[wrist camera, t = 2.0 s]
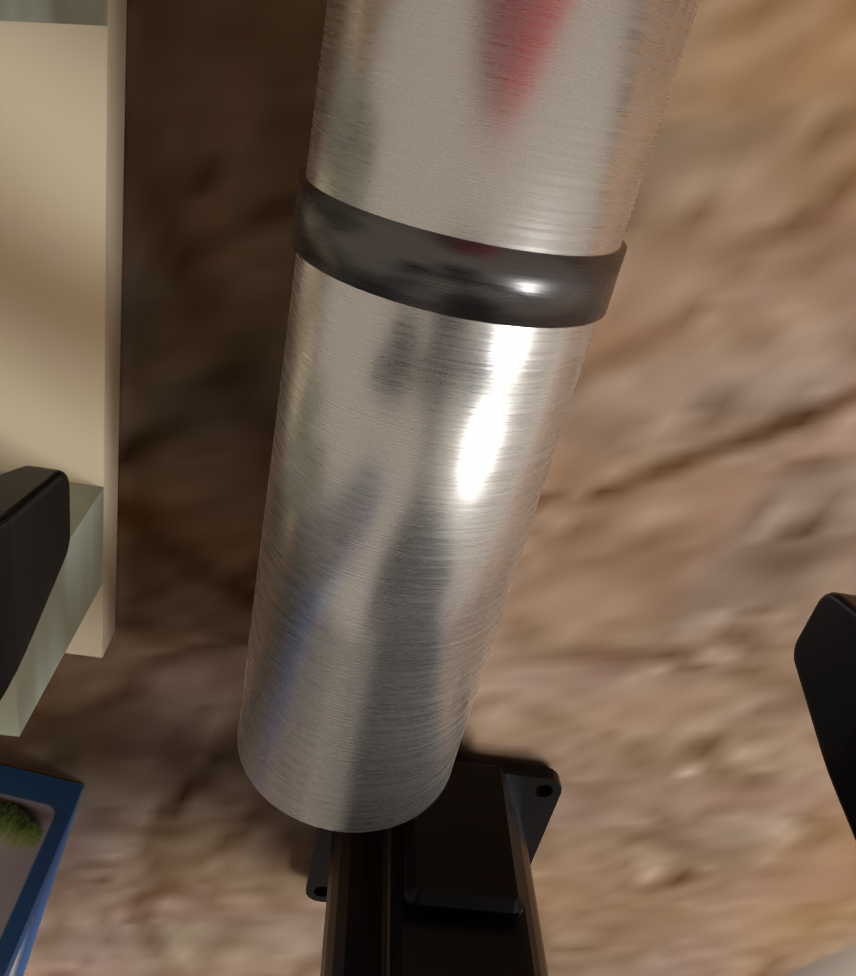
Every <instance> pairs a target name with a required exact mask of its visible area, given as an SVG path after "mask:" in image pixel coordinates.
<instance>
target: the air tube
mask: <svg viewBox="0 0 856 976" xmlns="http://www.w3.org/2000/svg"><path fill="white" fill-rule="evenodd" d="M699 2H700V0H327V7H326V16H325V24H324V32H323V40H322V48H321V56H320V64H319V73H318V81H317V89H316V97H315V105H314V113H313V121H312V129H311V138H310V146H309V154H308V162H307V167H305V168H303V169H302V170H301V171H300V172H299V181H298V189H297V197H296V206H295V214H294V223H293V231H292V242H291V244H292V246H293V248H294V250H295V251H296V260H295V268H294V276H293V284H292V292H291V300H290V309H289V317H288V325H287V333H286V341H285V349H284V357H283V366H282V374H281V382H280V390H279V398H278V406H277V414H276V422H275V431H274V439H273V447H272V455H271V463H270V471H269V479H268V488H267V496H266V504H265V512H264V520H263V528H262V536H261V545H260V553H259V561H258V569H257V577H256V585H255V593H254V602H253V610H252V618H251V626H250V634H249V642H248V650H247V659H246V667H245V675H244V683H243V691H242V699H241V707H240V715H239V724H238V734H237V744H238V752H239V756H240V760H241V763H242V766H243V768H244V770H245V772H246V774H247V776H248V778H249V779H250V781H251V782H252V784H253V785H254V787H255V788H256V789H257V790H258V791H259V792H260V794H261V795H262V796H263V797H264V798H265V799H267V800H268V801H269V802H270V803H271V804H272V805H273V806H275V807H276V808H278V809H279V810H281V811H282V812H284V813H285V814H287V815H289V816H291V817H293V818H295V819H297V820H299V821H301V822H303V823H306V824H309V825H312V826H314V827H318V828H322V829H326V830H330V831H338V832H351V833H363V832H372V831H379V830H383V829H387V828H392V827H394V826H397V825H400V824H402V823H405V822H407V821H409V820H411V819H413V818H414V817H416V816H418V815H419V814H421V813H422V812H423V811H425V810H426V809H427V808H428V807H429V806H430V805H431V804H432V803H433V802H434V801H435V800H436V799H437V798H438V797H439V795H440V794H441V792H442V791H443V790H444V788H445V786H446V784H447V782H448V780H449V777H450V774H451V771H452V768H453V764H454V761H455V758H456V755H457V752H458V749H459V746H460V743H461V740H462V737H463V733H464V730H465V727H466V724H467V721H468V718H469V715H470V712H471V709H472V706H473V702H474V699H475V696H476V693H477V690H478V687H479V684H480V681H481V678H482V674H483V671H484V668H485V665H486V662H487V659H488V656H489V653H490V650H491V647H492V643H493V640H494V637H495V634H496V631H497V628H498V625H499V622H500V619H501V616H502V612H503V609H504V606H505V603H506V600H507V597H508V594H509V591H510V588H511V585H512V581H513V578H514V575H515V572H516V569H517V566H518V563H519V560H520V557H521V554H522V550H523V547H524V544H525V541H526V538H527V535H528V532H529V529H530V526H531V523H532V519H533V516H534V513H535V510H536V507H537V504H538V501H539V498H540V495H541V492H542V488H543V485H544V482H545V479H546V476H547V473H548V470H549V467H550V464H551V461H552V457H553V454H554V451H555V448H556V445H557V442H558V439H559V436H560V433H561V430H562V426H563V423H564V420H565V417H566V414H567V411H568V408H569V405H570V402H571V399H572V395H573V392H574V389H575V386H576V383H577V380H578V377H579V374H580V371H581V368H582V364H583V361H584V358H585V355H586V352H587V349H588V346H589V343H590V340H591V337H592V333H593V330H594V327H595V324H596V321H598V320H600V319H601V318H602V317H603V316H604V315H605V314H606V311H607V308H608V305H609V302H610V299H611V296H612V293H613V289H614V286H615V283H616V280H617V277H618V274H619V271H620V268H621V265H622V262H623V259H624V256H625V253H626V249H627V246H626V244H625V242H624V241H623V237H624V234H625V231H626V228H627V225H628V222H629V219H630V216H631V212H632V209H633V206H634V203H635V200H636V197H637V194H638V191H639V188H640V185H641V181H642V178H643V175H644V172H645V169H646V166H647V163H648V160H649V157H650V154H651V150H652V147H653V144H654V141H655V138H656V135H657V132H658V129H659V126H660V123H661V119H662V116H663V113H664V110H665V107H666V104H667V101H668V98H669V95H670V92H671V88H672V85H673V82H674V79H675V76H676V73H677V70H678V67H679V64H680V61H681V57H682V54H683V51H684V48H685V45H686V42H687V39H688V36H689V33H690V30H691V26H692V23H693V20H694V17H695V14H696V11H697V8H698V5H699Z"/></svg>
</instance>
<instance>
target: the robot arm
mask: <svg viewBox="0 0 856 976" xmlns="http://www.w3.org/2000/svg"><path fill="white" fill-rule="evenodd" d="M69 543H70V486H69V480H68V477H67V475H66V474H65V473H64V472H63V471H60V470H56V469H49V468H43V467H37V466H23V467H20V468H17V469H14V470H11V471H9V472H6V473H3V474H0V701H1V699H2V697H3V696H4V694H5V692H6V691H7V689H8V687H9V685H10V683H11V681H12V680H13V678H14V676H15V674H16V672H17V670H18V668H19V666H20V664H21V662H22V659H23V657H24V655H25V653H26V651H27V648H28V646H29V643H30V641H31V639H32V636H33V634H34V632H35V629H36V627H37V624H38V622H39V620H40V617H41V615H42V613H43V610H44V608H45V605H46V603H47V601H48V598H49V596H50V594H51V591H52V589H53V586H54V584H55V582H56V579H57V577H58V575H59V572H60V570H61V567H62V565H63V563H64V560H65V558H66V555H67V552H68V548H69ZM794 661H795V665H796V669H797V672H798V675H799V679H800V682H801V685H802V689H803V692H804V695H805V699H806V702H807V705H808V709H809V712H810V715H811V719H812V722H813V725H814V729H815V732H816V735H817V739H818V742H819V745H820V749H821V752H822V755H823V758H824V761H825V764H826V767H827V770H828V773H829V776H830V778H831V781H832V784H833V786H834V789H835V791H836V794H837V796H838V799H839V801H840V804H841V806H842V808H843V811H844V813H845V816H846V818H847V821H848V823H849V825H850V828H851V830H852V833H853V835H854V838H855V840H856V595H849V594H843V593H835V592H831V593H829V594H826V595H825V596H823V597H822V598H821V599H820V601H819V602H818V604H817V606H816V607H815V609H814V611H813V613H812V615H811V616H810V618H809V620H808V622H807V624H806V625H805V627H804V629H803V631H802V633H801V634H800V636H799V638H798V640H797V642H796V645H795V649H794ZM541 785H542V786H541ZM561 789H562V788H561V784H560V779H559V776H558V774H557V772H556V771H554V770H553V769H550V768H546V767H537V766H529V765H521V764H512V763H504V762H495V761H487V760H479V759H470V758H462V757H456V758H455V761H454V764H453V768H452V771H451V774H450V777H449V780H448V782H447V784H446V786H445V788H444V790H443V791H442V792H441V794H440V795H439V797H438V798H437V799H436V800H435V801H434V802H433V803H432V804H431V805H430V806H429V807H428V808H427V809H426V810H425V811H423V812H422V813H421V814H419V815H418V816H416V817H414V818H413V819H411V820H409V821H407V822H405V823H402V824H400V825H397V826H394V827H392V828H387V829H383V830H379V831H372V832H363V833H351V832H338V831H330V830H326V829H322V828H318V830H317V834H316V839H315V844H314V848H313V853H312V858H311V863H310V867H309V872H308V877H307V885H306V894H307V895H308V897H309V898H311V899H313V900H315V901H320V902H326V913H325V925H324V938H323V950H322V962H321V974H320V976H548V971H547V965H546V959H545V953H544V947H543V941H542V934H541V928H540V922H539V916H538V910H537V903H536V897H535V891H534V885H533V879H532V872H531V866H530V865H531V862H532V860H533V857H534V855H535V853H536V850H537V848H538V846H539V843H540V841H541V839H542V836H543V834H544V832H545V829H546V827H547V825H548V822H549V820H550V818H551V815H552V813H553V810H554V808H555V806H556V803H557V801H558V799H559V796H560V794H561Z"/></svg>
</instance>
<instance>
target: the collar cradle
mask: <svg viewBox="0 0 856 976" xmlns="http://www.w3.org/2000/svg"><path fill="white" fill-rule="evenodd" d="M126 20H127V0H0V474H3V473H6V472H9V471H11V470H14V469H17V468H20V467H23V466H37V467H43V468H49V469H56V470H60V471H63V472H64V473H65V474H66V475H67V477H68V480H69V486H70V543H69V548H68V552H67V555H66V558H65V560H64V563H63V565H62V567H61V570H60V572H59V575H58V577H57V579H56V582H55V584H54V586H53V589H52V591H51V594H50V596H49V598H48V601H47V603H46V605H45V608H44V610H43V613H42V615H41V617H40V620H39V622H38V624H37V627H36V629H35V632H34V634H33V636H32V639H31V641H30V643H29V646H28V648H27V651H26V653H25V655H24V657H23V659H22V662H21V664H20V666H19V668H18V670H17V672H16V674H15V676H14V678H13V680H12V681H11V683H10V685H9V687H8V689H7V691H6V692H5V694H4V696H3V697H2V699H1V701H0V735H8V736H16V737H19V736H20V735H21V733H22V731H23V729H24V727H25V725H26V724H27V722H28V720H29V718H30V716H31V714H32V712H33V711H34V709H35V707H36V705H37V703H38V701H39V700H40V698H41V696H42V694H43V692H44V690H45V688H46V687H47V685H48V683H49V681H50V679H51V677H52V676H53V674H54V672H55V670H56V668H57V666H58V664H59V663H60V661H61V659H62V657H63V655H64V653H68V654H76V655H84V656H91V657H99V658H102V657H103V655H104V653H105V651H106V649H107V647H108V645H109V643H110V641H111V639H112V636H113V634H114V632H115V621H116V567H117V512H118V457H119V403H120V348H121V293H122V239H123V184H124V129H125V75H126Z"/></svg>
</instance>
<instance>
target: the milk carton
mask: <svg viewBox="0 0 856 976" xmlns="http://www.w3.org/2000/svg"><path fill="white" fill-rule="evenodd" d="M83 787H84V784H80V783H76V782H72V781H68V780H64V779H60V778H56V777H51V776H47V775H43V774H39V773H35V772H31V771H27V770H23V769H18V768H14V767H10V766H6V765H2V764H0V976H23V974H24V972H25V969H26V966H27V963H28V960H29V957H30V953H31V950H32V947H33V944H34V941H35V938H36V935H37V932H38V928H39V925H40V922H41V919H42V916H43V913H44V910H45V906H46V903H47V900H48V897H49V894H50V891H51V888H52V885H53V881H54V878H55V875H56V872H57V869H58V866H59V863H60V859H61V856H62V853H63V850H64V847H65V844H66V841H67V838H68V834H69V831H70V828H71V825H72V822H73V819H74V816H75V812H76V809H77V806H78V803H79V800H80V797H81V794H82V791H83Z"/></svg>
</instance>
